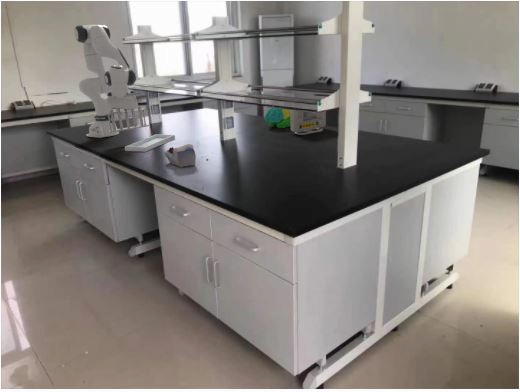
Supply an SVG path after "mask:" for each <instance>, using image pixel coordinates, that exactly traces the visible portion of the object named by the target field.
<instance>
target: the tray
mask: <svg viewBox="0 0 520 392" xmlns="http://www.w3.org/2000/svg"><path fill="white" fill-rule="evenodd" d="M175 139H176V134H160V133H159V134H156V133H155V134H153V135H151V136H149V137H145V138H144V139H141V140H138V141H136V142H132V143H131V144H129V145H126V146H125V145H124V151H126V152H144V153H145V152H148V151H150V150H153V149H155V148H157V147H160V146H161V145H164V144H166V143H168V142H171V141H173V140H175Z"/></svg>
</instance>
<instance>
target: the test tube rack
mask: <svg viewBox="0 0 520 392" xmlns="http://www.w3.org/2000/svg"><path fill="white" fill-rule="evenodd" d="M123 110H124V111H123ZM123 110H121V109H117V111H116V112H114V110H113V109H112V110H110V113H108V114H105V115H108V119H109V124H110V130H109V131H108V132H110V133H112V132H124V131H129V130H134V129H140V128H146V127H150V125H149V124H147V123H146V116H145V110H147V108H145V107H143V108H142V106H141V105H138V108H136V109H131V112H130V113H131V116H132V122H133V126H131V123H130V118H129V117H130V116H127V114H126V113H128V110H127V109H123ZM136 112H138V118H139V122H140V125H137V119H136ZM121 113H122V114H124V116H125V121H126V127H124V125H123V119H122V116H121ZM110 115H111V120H112V125H113V130H112V128H111V122H110V117H109V116H110ZM115 115H117V116H118V117H117V118H118V122H119V128H117V129H116V127H117V124H116V121H115V120H114V117H115ZM115 124H116V125H115Z"/></svg>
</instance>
